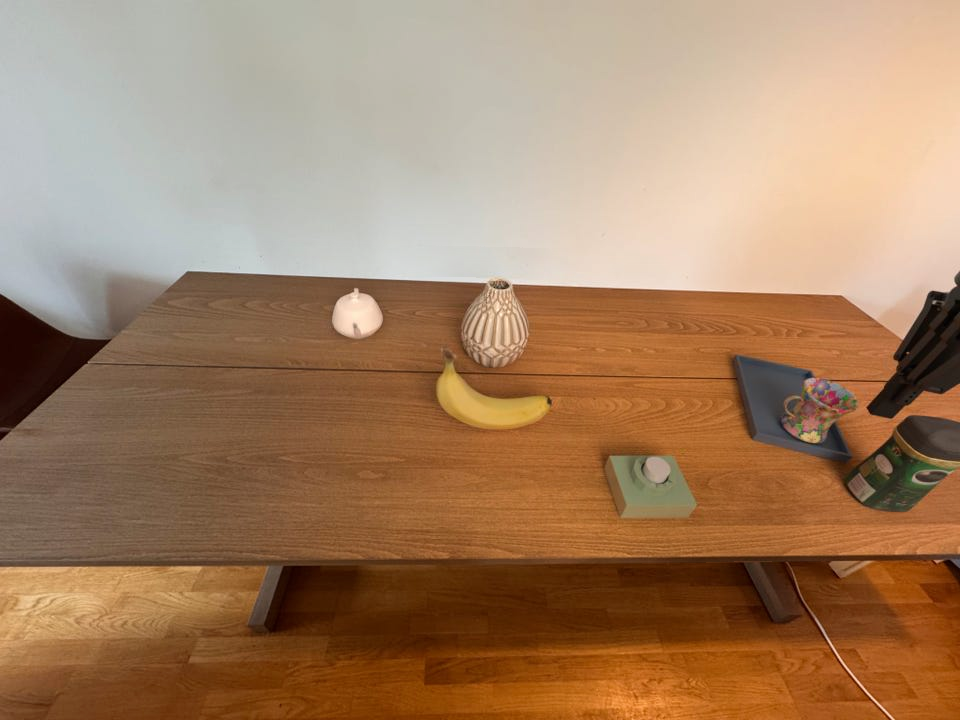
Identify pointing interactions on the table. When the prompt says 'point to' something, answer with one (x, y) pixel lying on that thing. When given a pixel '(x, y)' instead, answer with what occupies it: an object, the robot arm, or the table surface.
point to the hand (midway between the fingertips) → (878, 413)
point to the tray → (780, 406)
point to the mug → (817, 409)
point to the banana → (485, 402)
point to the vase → (495, 326)
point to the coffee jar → (907, 464)
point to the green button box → (648, 489)
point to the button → (656, 470)
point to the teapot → (357, 315)
